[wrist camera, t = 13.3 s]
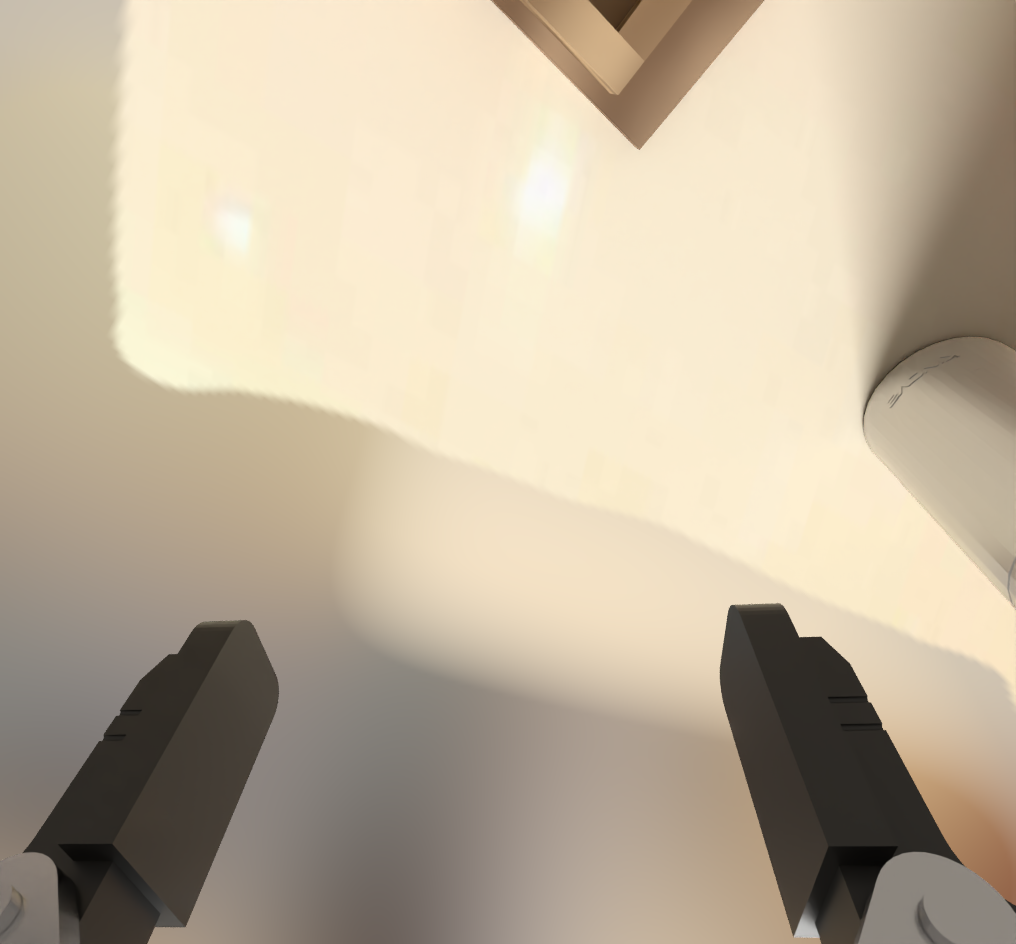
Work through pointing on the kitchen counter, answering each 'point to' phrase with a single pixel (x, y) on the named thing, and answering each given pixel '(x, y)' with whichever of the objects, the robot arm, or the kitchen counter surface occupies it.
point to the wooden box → (631, 50)
